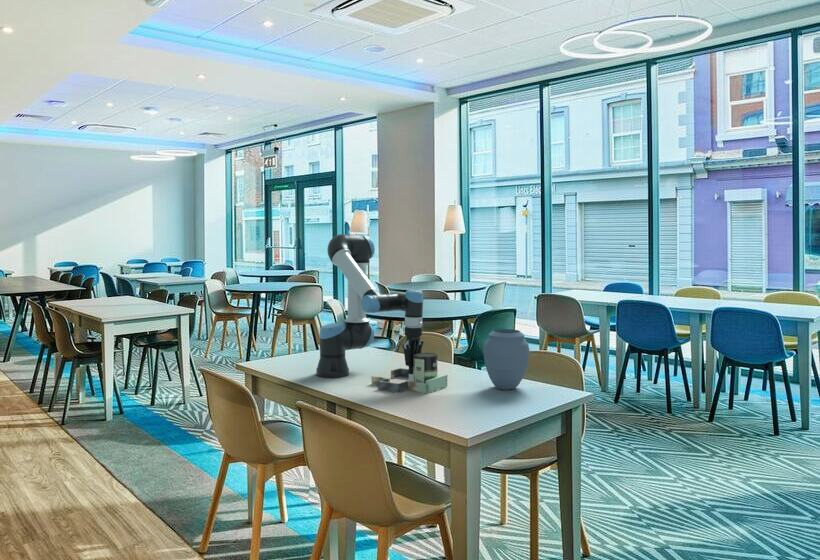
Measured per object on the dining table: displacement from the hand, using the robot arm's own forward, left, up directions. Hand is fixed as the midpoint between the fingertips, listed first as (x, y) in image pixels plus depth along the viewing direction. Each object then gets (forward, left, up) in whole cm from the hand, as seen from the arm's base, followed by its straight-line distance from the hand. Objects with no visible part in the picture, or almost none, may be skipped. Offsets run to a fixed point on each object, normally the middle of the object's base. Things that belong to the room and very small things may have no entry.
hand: (412, 381), depth 282 cm
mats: (-7, 0, -2) cm, 7 cm away
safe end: (+10, 0, -2) cm, 11 cm away
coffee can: (+7, 0, -2) cm, 7 cm away
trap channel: (-4, 0, -2) cm, 5 cm away
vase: (+35, +19, -2) cm, 40 cm away
